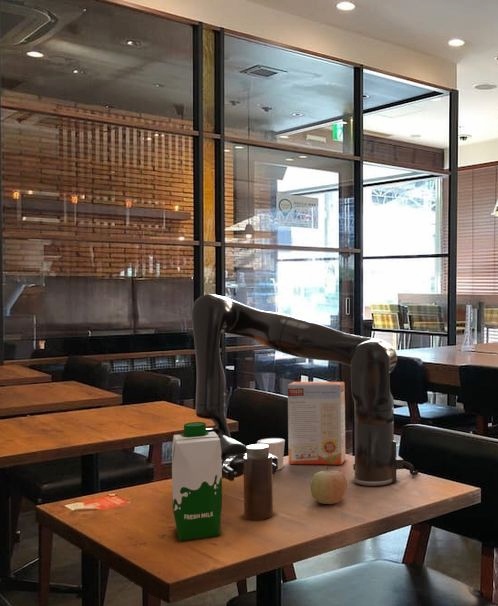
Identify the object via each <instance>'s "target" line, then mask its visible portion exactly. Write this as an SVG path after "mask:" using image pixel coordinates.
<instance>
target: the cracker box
mask: <svg viewBox="0 0 498 606" xmlns="http://www.w3.org/2000/svg"><path fill="white" fill-rule="evenodd" d="M345 390H346V389H345V382H344V381H293V382H290V383H288V384H287V433H288V434H287V437H288V438H287V440H288V441H287V443H288V445H287V446H288V464H289V465H331V466H333V465H336V466H337V465H338V466H340V465H342V464H343V463H344V462H345V461H346V398H345V397H346V395H345Z"/></svg>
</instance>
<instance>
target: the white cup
mask: <svg viewBox="0 0 498 606" xmlns="http://www.w3.org/2000/svg"><path fill="white" fill-rule="evenodd" d="M285 443H286V439H284V438H281V437H267V438H261V439H259V440H257V441H256V444H266V445H269V453H270V454H272V455H274V456H276V457H278V469H276V471H279V470H282V469H283V466H284V455H285Z"/></svg>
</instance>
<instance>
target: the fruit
mask: <svg viewBox="0 0 498 606" xmlns="http://www.w3.org/2000/svg"><path fill="white" fill-rule="evenodd" d="M324 467H325V469H326V470H321V471H317V472H316V473H315V474H314V475H313V477H312V478H311V481H310V492H311V496H312V497H313V499H314V501H316V502H317V503H320V504H323V505H333V504H338V503H339V502H341V500H342V499H343V497H344V496H345V495H346V492H347V489H348V488H347V487H348V481H347V477H346V475H345V474H344V473H343V472H341V471H340V470H329V469H328V466H327V465H325V466H324Z"/></svg>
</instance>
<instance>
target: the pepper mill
mask: <svg viewBox="0 0 498 606" xmlns="http://www.w3.org/2000/svg"><path fill="white" fill-rule="evenodd" d="M246 447H247V455H246V456H244V474H243V517H244V519H245V520H247V521H248V520H249V521H263V520H267V519H269V518H271V517H273V515H274V508H273V507H274V504H273V503H274V501H273V500H274V499H273V497H274V496H273V493H274V492H273V487H274V486H273V475H272V455H271V454H269V445H266V444H258V443H255V444H254V443H253V444H249V445H246Z"/></svg>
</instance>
